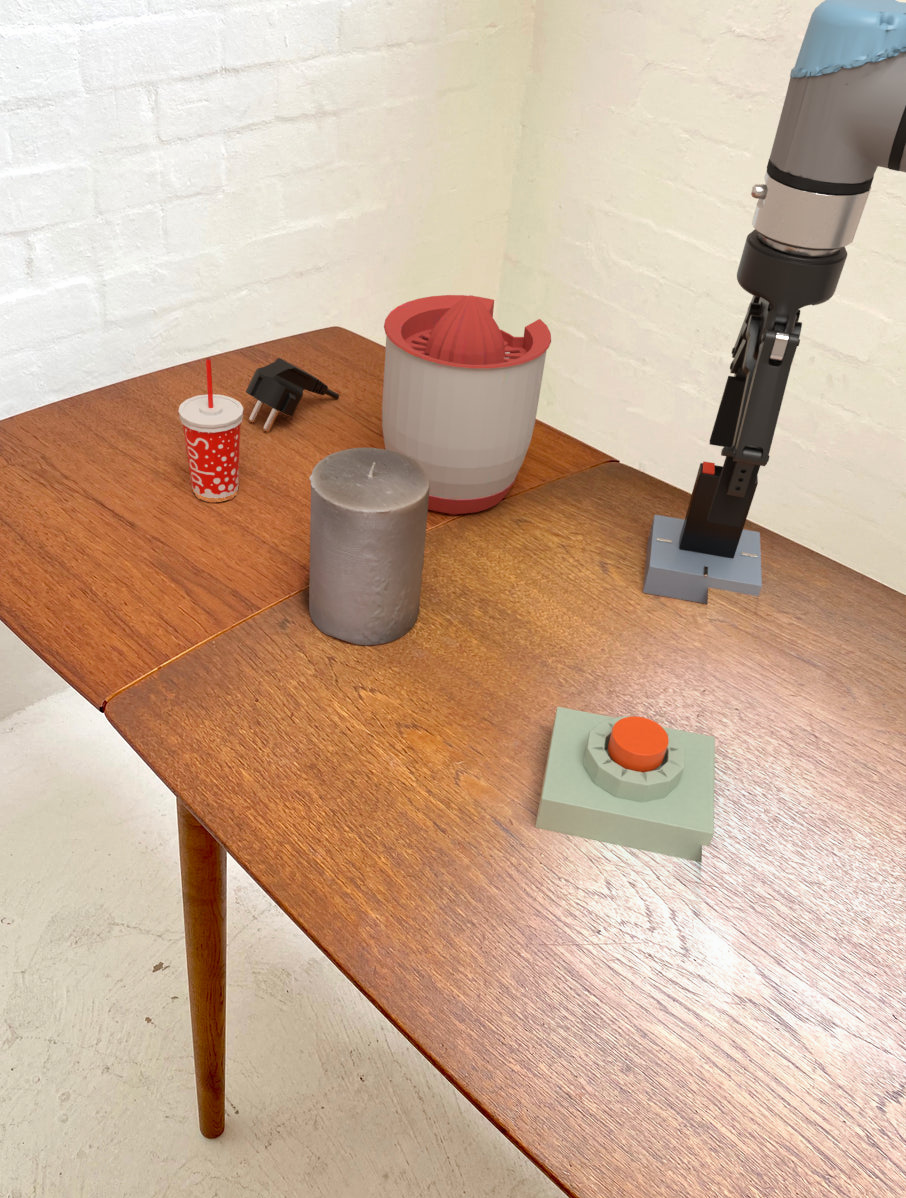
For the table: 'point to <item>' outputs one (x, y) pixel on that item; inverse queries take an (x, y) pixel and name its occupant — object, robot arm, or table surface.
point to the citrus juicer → (461, 397)
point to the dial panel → (698, 565)
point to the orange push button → (638, 744)
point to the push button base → (628, 789)
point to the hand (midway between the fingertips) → (723, 482)
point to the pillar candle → (367, 544)
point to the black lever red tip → (696, 528)
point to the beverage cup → (212, 441)
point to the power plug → (282, 389)
